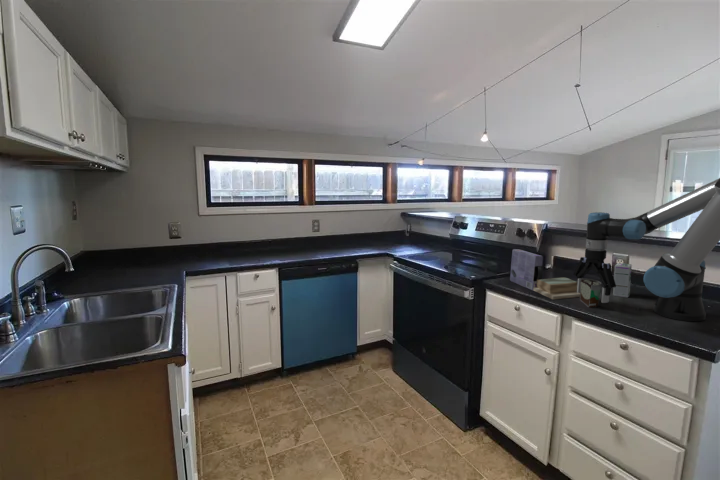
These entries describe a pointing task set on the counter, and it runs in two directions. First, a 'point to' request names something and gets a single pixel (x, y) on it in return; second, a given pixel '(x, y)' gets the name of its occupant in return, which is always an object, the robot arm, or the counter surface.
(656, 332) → the counter surface
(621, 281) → the syrup box
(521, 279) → the cake pan box
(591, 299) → the food container
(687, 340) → the counter surface
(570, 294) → the base
